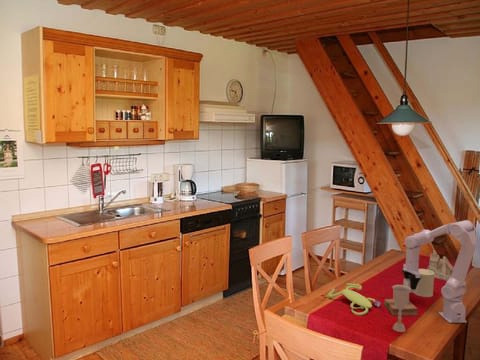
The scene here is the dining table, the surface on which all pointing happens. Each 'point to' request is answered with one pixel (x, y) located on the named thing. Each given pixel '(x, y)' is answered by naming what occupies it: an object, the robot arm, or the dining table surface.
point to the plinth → (391, 306)
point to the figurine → (355, 298)
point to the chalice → (400, 303)
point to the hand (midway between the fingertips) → (410, 287)
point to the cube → (407, 283)
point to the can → (425, 283)
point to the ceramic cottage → (440, 267)
